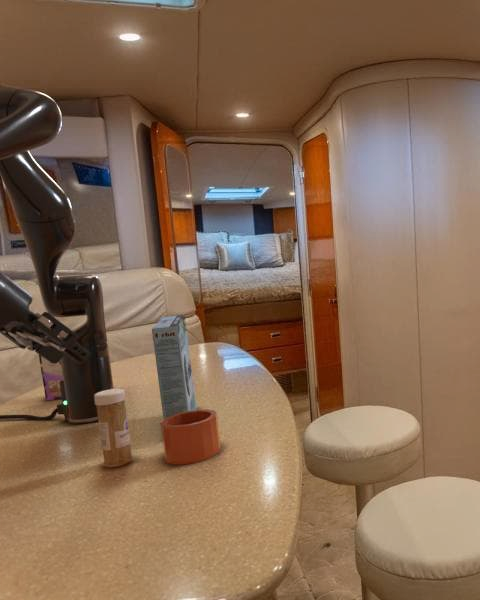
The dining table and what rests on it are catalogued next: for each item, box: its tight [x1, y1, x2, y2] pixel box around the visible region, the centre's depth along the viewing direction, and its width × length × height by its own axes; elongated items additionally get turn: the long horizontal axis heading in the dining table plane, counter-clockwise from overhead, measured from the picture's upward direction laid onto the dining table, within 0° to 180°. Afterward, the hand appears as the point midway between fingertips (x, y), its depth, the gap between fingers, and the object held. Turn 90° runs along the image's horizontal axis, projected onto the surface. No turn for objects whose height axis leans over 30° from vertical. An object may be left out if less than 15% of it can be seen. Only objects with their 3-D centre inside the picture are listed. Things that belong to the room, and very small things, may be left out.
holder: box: [160, 408, 221, 465], centre depth 95 cm, size 9×9×7 cm
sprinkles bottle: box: [94, 388, 134, 468], centre depth 92 cm, size 5×5×14 cm
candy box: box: [38, 336, 63, 401], centre depth 138 cm, size 14×6×16 cm, turn 108°
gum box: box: [151, 314, 197, 420], centre depth 111 cm, size 20×5×23 cm, turn 23°
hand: (72, 359), depth 86 cm, fingers open, 8 cm apart
